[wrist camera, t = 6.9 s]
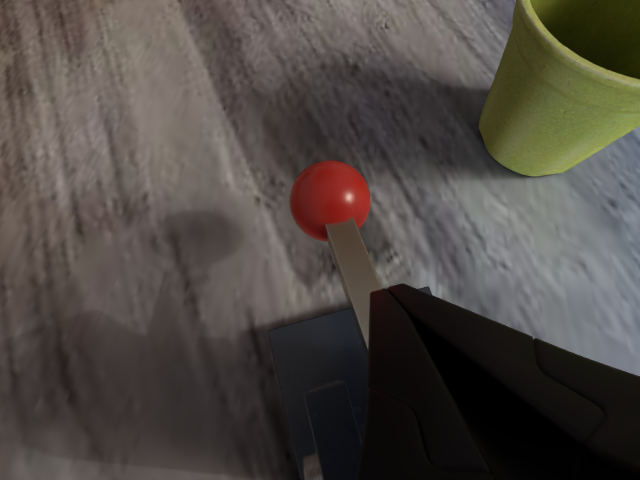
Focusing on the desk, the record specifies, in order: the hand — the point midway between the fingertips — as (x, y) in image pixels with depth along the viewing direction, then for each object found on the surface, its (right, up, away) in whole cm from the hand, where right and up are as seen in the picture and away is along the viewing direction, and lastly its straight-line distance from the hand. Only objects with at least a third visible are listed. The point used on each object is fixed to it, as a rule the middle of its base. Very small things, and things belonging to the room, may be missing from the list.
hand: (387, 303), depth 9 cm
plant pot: (+11, +8, +13) cm, 19 cm away
